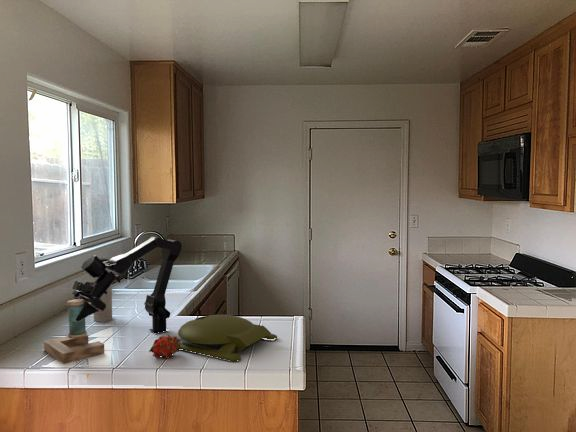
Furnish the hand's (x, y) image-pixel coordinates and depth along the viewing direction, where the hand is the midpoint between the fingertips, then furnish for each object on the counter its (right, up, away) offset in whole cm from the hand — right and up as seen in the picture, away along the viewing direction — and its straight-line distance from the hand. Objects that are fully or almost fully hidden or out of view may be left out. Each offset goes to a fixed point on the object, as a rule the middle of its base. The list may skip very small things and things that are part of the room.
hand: (73, 319), depth 182 cm
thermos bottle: (-5, -9, +43) cm, 45 cm away
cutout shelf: (0, -12, +1) cm, 12 cm away
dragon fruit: (+35, -13, -4) cm, 38 cm away
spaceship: (+54, -13, +12) cm, 56 cm away
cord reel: (+1, -7, +1) cm, 7 cm away
